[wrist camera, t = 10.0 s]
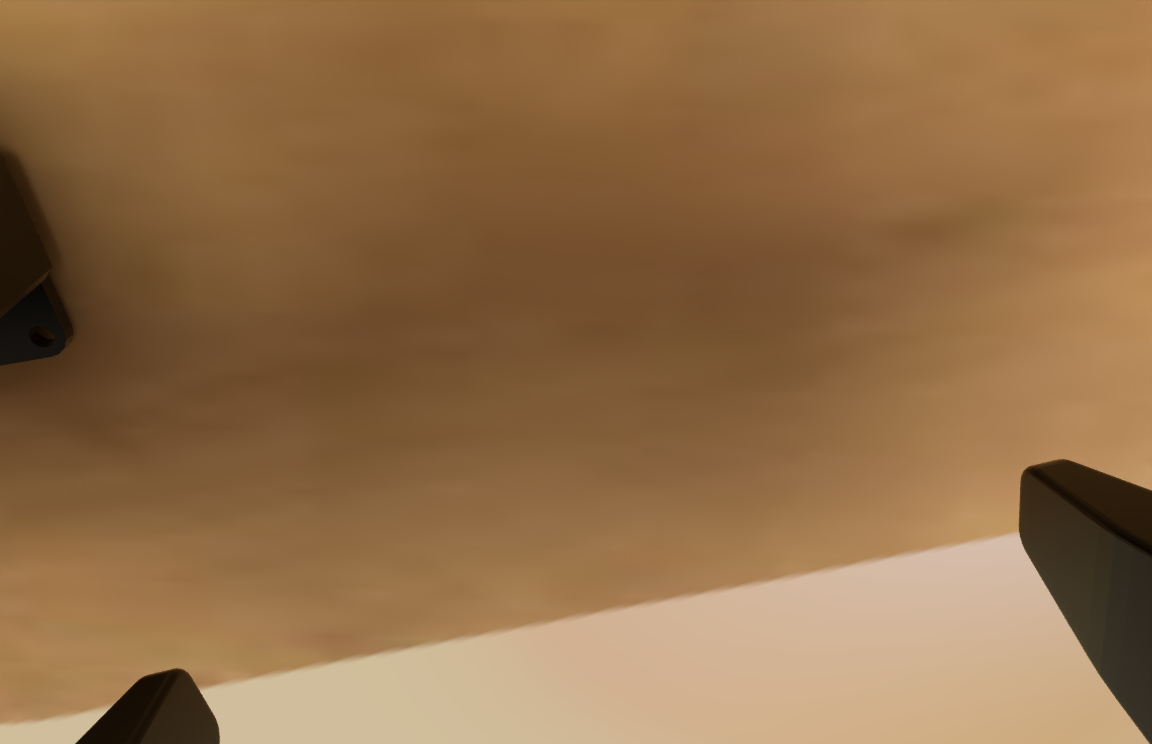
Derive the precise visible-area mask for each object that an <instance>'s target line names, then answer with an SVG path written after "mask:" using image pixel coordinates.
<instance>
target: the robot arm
mask: <svg viewBox="0 0 1152 744" xmlns="http://www.w3.org/2000/svg"><path fill="white" fill-rule="evenodd" d="M50 269H51V263H50V260H49V258H48V256H47V254H46V251H45V249H44V247H43V245H42V243H41V240H40V238H39V236H38V234H37V232H36V229H35V227H34V225H33V223H32V221H31V218H30V216H29V214H28V212H27V210H26V207H25V205H24V203H23V201H22V198H21V196H20V194H19V192H18V190H17V187H16V185H15V183H14V181H13V179H12V176H11V174H10V172H9V170H8V168H7V165H6V163H5V161H4V159H3V157H2V156H0V365H6V364H12V363H17V362H23V361H29V360H35V359H41V358H47V357H52V356H54V355H57V354H59V353H60V352H61V351H62V350H63V349H64V348H65V347H66V346H67V345H68V344H69V343H70V342H71V340H72V337H73V329H72V325H71V323H70V321H69V318H68V316H67V314H66V312H65V310H64V307H63V305H62V303H61V301H60V299H59V296H58V294H57V292H56V290H55V288H54V286H53V283H52V281H51V279H50V277H49V275H48V273H49V271H50ZM37 326H43V327H45V328H47V329H49V330H50V331H51V332H52V333H53V335H54V339H47V338H45V337H43V336H41V335H40V333H39V332H38V330H37ZM1019 533H1020V538H1021V541H1022V544H1023V547H1024V549H1025V551H1026V553H1027V554H1028V556H1029V558H1030V559H1031V561H1032V563H1033V565H1034V566H1035V568H1036V570H1037V571H1038V573H1039V575H1040V576H1041V578H1042V580H1043V582H1044V583H1045V585H1046V587H1047V588H1048V590H1049V592H1050V593H1051V595H1052V597H1053V598H1054V600H1055V602H1056V604H1057V605H1058V607H1059V609H1060V610H1061V612H1062V614H1063V615H1064V617H1065V619H1066V620H1067V622H1068V624H1069V626H1070V627H1071V629H1072V631H1073V632H1074V634H1075V636H1076V637H1077V639H1078V640H1079V642H1080V644H1081V646H1082V647H1083V649H1084V651H1085V653H1086V654H1087V656H1088V657H1089V659H1090V661H1091V662H1092V664H1093V666H1094V667H1095V668H1096V670H1097V672H1098V673H1099V675H1100V677H1101V678H1102V679H1103V681H1104V682H1105V683H1106V685H1107V686H1108V688H1109V689H1110V691H1111V692H1112V693H1113V695H1114V696H1115V698H1116V699H1117V700H1118V702H1119V703H1120V704H1121V706H1122V707H1123V708H1124V710H1125V711H1126V712H1127V714H1128V715H1129V716H1130V718H1131V719H1132V720H1133V722H1134V723H1135V725H1136V726H1137V727H1138V729H1139V730H1140V731H1141V732H1142V734H1143V735H1144V736H1145V738H1146V739H1147V741H1148V742H1149V743H1150V744H1152V491H1151V490H1149V489H1146V488H1143V487H1141V486H1138V485H1135V484H1132V483H1130V482H1127V481H1124V480H1122V479H1119V478H1116V477H1113V476H1111V475H1108V474H1105V473H1103V472H1100V471H1097V470H1095V469H1092V468H1089V467H1086V466H1084V465H1081V464H1078V463H1076V462H1073V461H1069V460H1065V459H1059V460H1054V461H1050V462H1045V463H1041V464H1037V465H1033V466H1030V467H1028V468H1026V469H1025V470H1024V471H1023V474H1022V476H1021V484H1020V509H1019ZM219 743H220V736H219V727H218V724H217V721H216V718H215V716H214V715H213V713H212V711H211V709H210V708H209V706H208V705H207V703H206V701H205V699H204V698H203V696H202V694H201V693H200V691H199V689H198V687H197V686H196V684H195V682H194V681H193V679H192V677H191V676H190V675H189V673H187V672H186V671H185V670H183V669H171V670H167V671H162V672H158V673H154V674H150V675H147V676H144V677H142V678H141V679H139V680H138V681H137V682H136V683H135V684H134V685H133V686H132V687H131V688H130V689H129V690H128V691H127V692H126V693H125V694H124V695H123V696H122V697H121V698H120V699H119V700H118V701H117V702H116V703H115V704H114V705H113V706H112V707H111V708H110V709H109V710H108V711H107V712H106V713H105V714H104V715H103V716H102V717H101V718H100V719H99V720H98V721H97V722H96V723H95V724H94V725H93V726H92V727H91V728H90V730H88V731H87V732H86V734H85V735H83V737H82V738H81V739H80V740H79V741H78V742H77V743H76V744H219Z"/></svg>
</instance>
